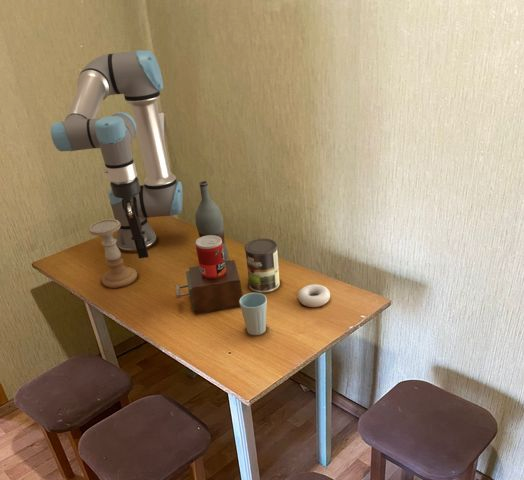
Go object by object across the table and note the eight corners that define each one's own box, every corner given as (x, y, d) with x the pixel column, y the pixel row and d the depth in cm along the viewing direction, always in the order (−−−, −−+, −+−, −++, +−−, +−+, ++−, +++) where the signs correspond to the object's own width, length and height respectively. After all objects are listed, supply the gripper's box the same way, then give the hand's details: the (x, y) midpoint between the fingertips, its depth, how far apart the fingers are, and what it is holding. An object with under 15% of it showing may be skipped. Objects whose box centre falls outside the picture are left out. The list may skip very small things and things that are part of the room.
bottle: (213, 275, 181) (199, 190, 162) (198, 266, 187) (183, 183, 168) (234, 264, 185) (223, 181, 167) (219, 256, 191) (207, 174, 173)
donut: (336, 298, 163) (312, 287, 169) (337, 289, 161) (312, 278, 167) (315, 313, 158) (291, 301, 164) (315, 303, 156) (290, 292, 162)
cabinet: (197, 313, 163) (191, 287, 157) (193, 293, 173) (188, 267, 167) (243, 305, 164) (240, 279, 159) (237, 285, 174) (234, 259, 168)
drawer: (179, 313, 163) (174, 292, 158) (177, 294, 172) (172, 273, 167) (235, 303, 164) (232, 282, 159) (230, 285, 173) (227, 264, 168)
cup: (261, 340, 150) (257, 310, 143) (238, 333, 153) (234, 303, 147) (274, 326, 155) (271, 295, 148) (251, 320, 158) (248, 290, 152)
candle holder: (106, 292, 178) (88, 237, 166) (99, 276, 187) (82, 223, 175) (141, 281, 182) (127, 227, 169) (132, 266, 191) (118, 214, 178)
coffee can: (265, 296, 168) (261, 256, 159) (242, 286, 173) (237, 248, 165) (286, 282, 173) (284, 243, 164) (263, 273, 179) (259, 235, 170)
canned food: (223, 279, 159) (218, 247, 152) (197, 279, 161) (191, 246, 154) (229, 267, 165) (224, 234, 158) (204, 266, 166) (199, 234, 160)
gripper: (110, 173, 147) (131, 248, 162) (108, 190, 137) (131, 269, 152) (137, 168, 147) (155, 244, 162) (137, 186, 137) (157, 265, 152)
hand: (143, 256), depth 157 cm, fingers closed
